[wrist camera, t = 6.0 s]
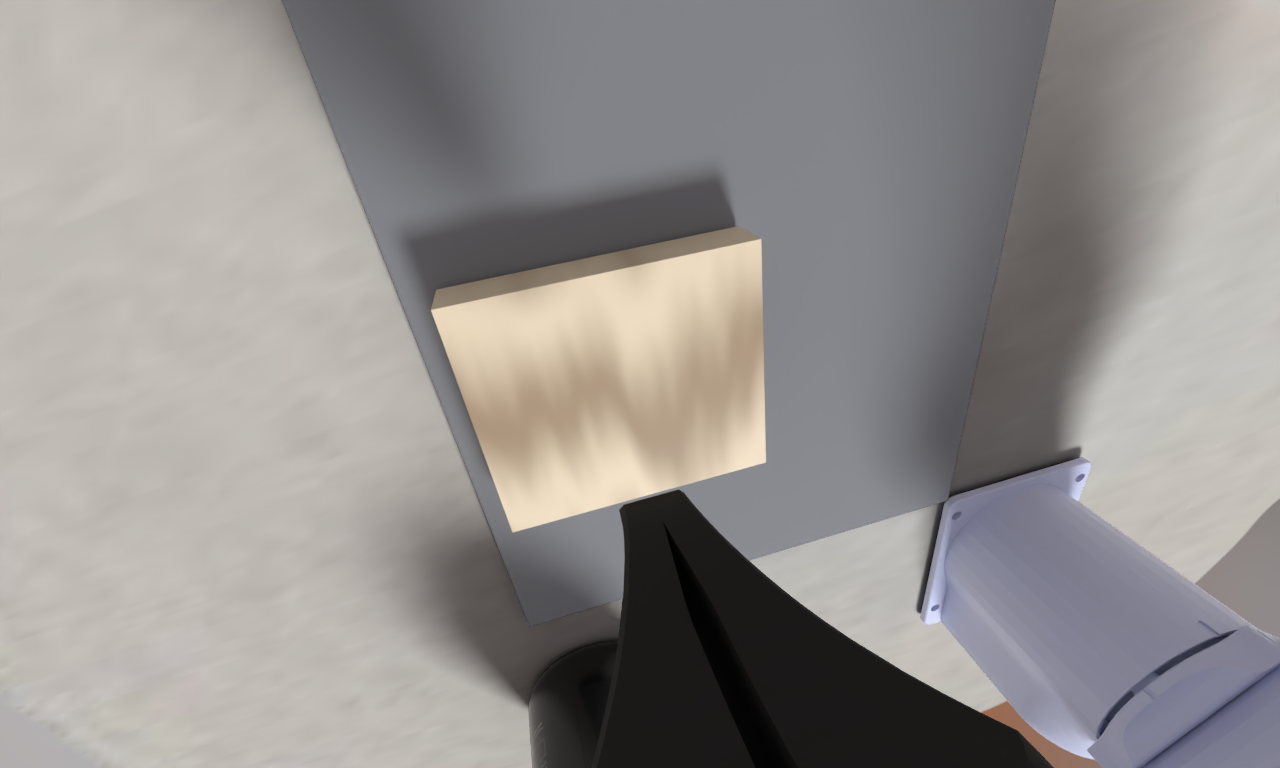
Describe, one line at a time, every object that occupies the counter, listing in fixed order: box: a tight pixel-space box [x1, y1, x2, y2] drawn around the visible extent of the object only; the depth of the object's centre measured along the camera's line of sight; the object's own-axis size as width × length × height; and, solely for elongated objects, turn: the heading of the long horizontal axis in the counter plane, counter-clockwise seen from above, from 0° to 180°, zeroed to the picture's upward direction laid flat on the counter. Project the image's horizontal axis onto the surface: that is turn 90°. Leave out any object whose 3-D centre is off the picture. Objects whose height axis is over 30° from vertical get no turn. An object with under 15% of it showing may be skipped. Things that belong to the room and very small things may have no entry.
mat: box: [282, 0, 1055, 627], centre depth 18 cm, size 22×20×1 cm
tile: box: [431, 226, 766, 532], centre depth 17 cm, size 8×2×9 cm
